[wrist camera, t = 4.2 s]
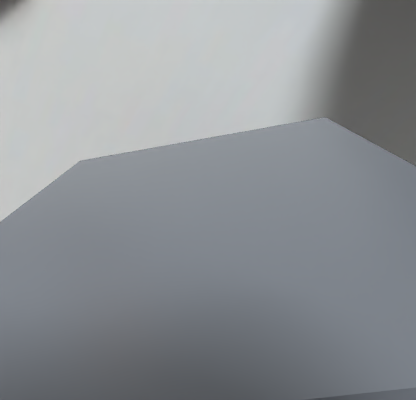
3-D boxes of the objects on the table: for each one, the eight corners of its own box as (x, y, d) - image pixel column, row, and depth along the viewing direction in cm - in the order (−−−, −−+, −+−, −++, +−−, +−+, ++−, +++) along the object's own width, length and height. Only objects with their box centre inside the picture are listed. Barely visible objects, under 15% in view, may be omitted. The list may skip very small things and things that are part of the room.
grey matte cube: (325, 117, 10) (756, 349, 2) (335, 317, 13) (531, 742, 5) (80, 160, 11) (-319, 467, 3) (141, 342, 14) (35, 753, 6)
